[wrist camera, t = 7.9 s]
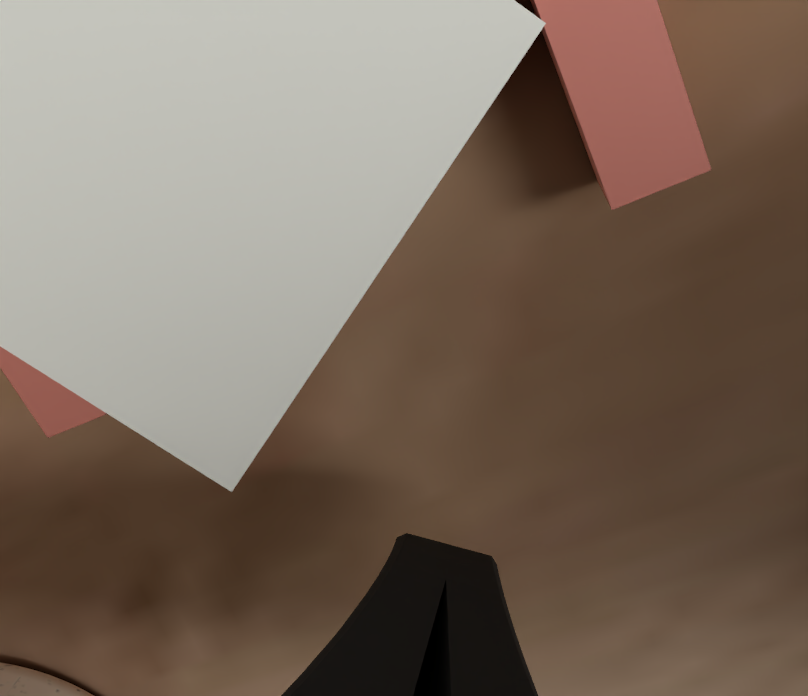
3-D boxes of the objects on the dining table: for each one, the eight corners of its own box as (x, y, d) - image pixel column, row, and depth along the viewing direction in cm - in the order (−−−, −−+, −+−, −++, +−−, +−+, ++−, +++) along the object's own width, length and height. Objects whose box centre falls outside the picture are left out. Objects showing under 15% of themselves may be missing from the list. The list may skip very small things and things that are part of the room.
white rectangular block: (539, 31, 10) (545, 23, 6) (327, 346, 13) (231, 491, 9) (268, -168, 10) (86, -315, 6) (102, 199, 12) (-110, 277, 8)
